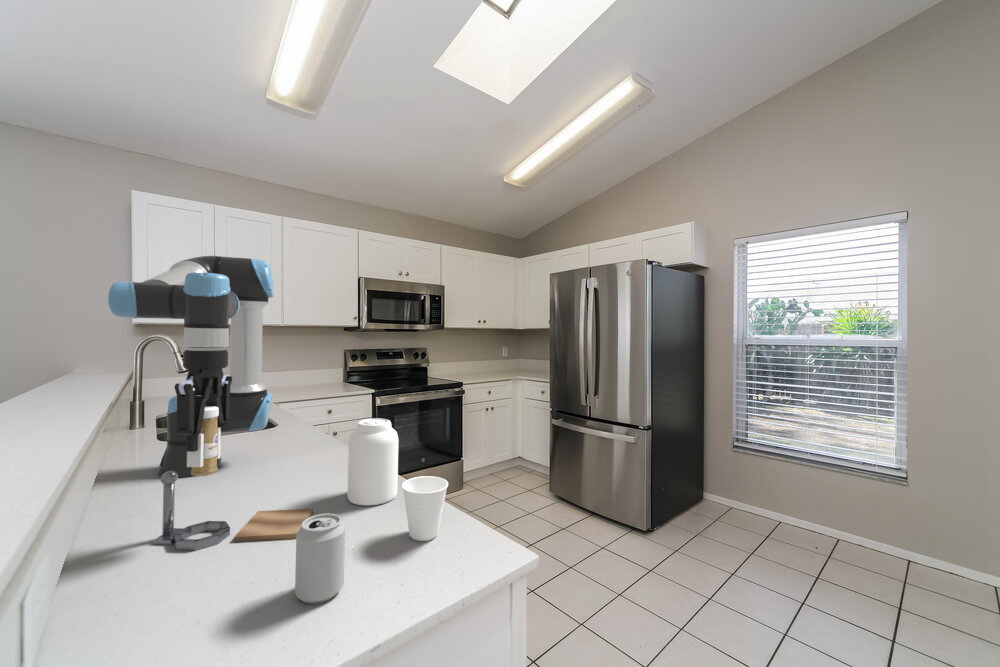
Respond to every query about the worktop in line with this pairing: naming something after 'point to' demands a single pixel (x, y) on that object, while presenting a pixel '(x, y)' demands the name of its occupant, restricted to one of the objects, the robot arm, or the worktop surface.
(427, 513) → the cup
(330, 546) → the can
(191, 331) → the robot arm
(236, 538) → the coaster
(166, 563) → the worktop surface
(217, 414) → the sprinkles bottle
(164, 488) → the ring stand
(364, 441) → the white jar
